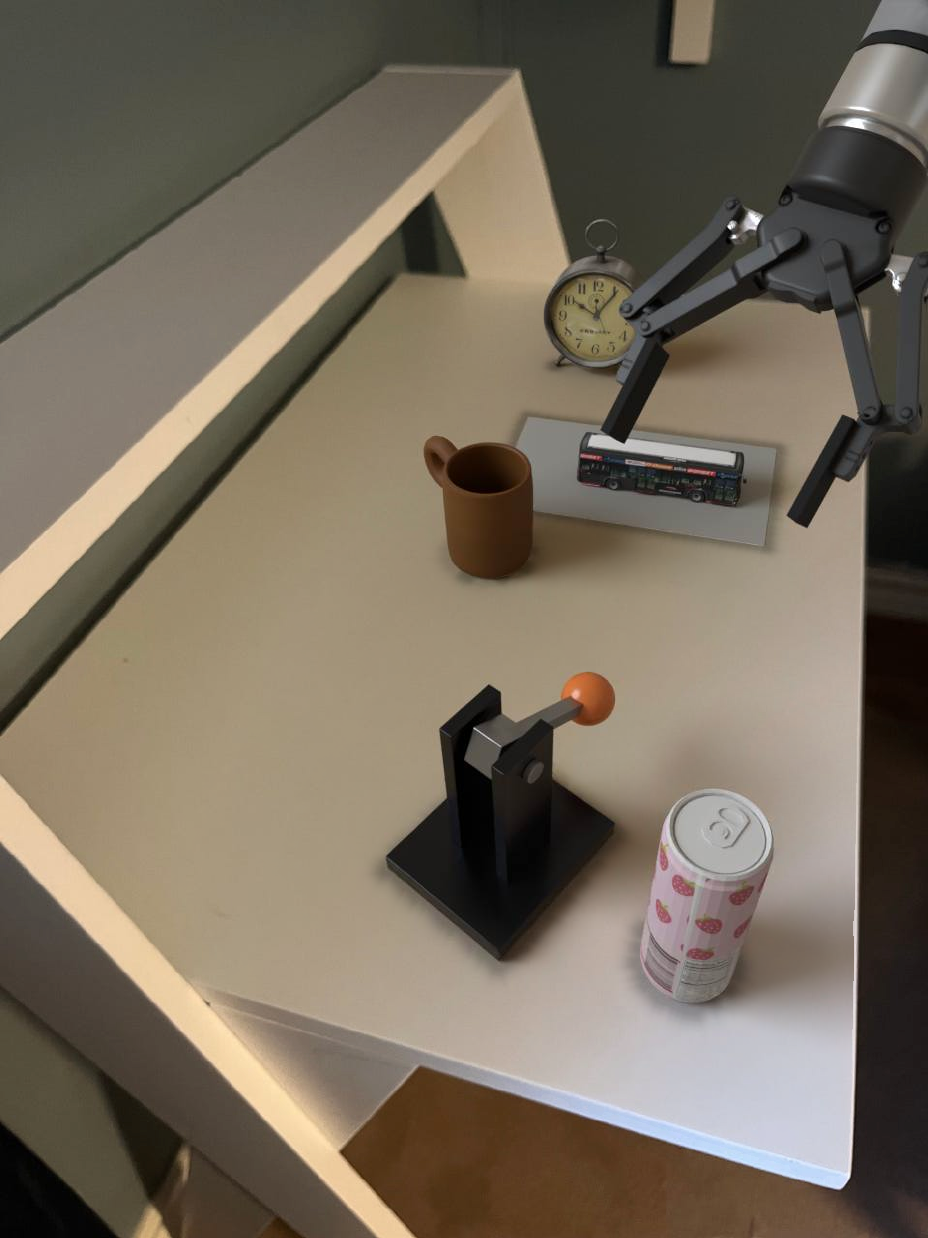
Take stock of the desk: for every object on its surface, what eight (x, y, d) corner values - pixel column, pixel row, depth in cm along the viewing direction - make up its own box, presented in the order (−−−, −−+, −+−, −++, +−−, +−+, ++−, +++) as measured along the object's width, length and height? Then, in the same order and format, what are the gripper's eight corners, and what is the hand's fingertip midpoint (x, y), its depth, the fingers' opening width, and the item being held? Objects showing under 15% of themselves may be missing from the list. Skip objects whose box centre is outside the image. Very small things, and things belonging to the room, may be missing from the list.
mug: (400, 528, 89) (390, 444, 82) (463, 491, 92) (458, 408, 85) (486, 595, 82) (482, 510, 76) (550, 553, 86) (552, 468, 79)
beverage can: (736, 927, 61) (780, 794, 50) (729, 1015, 57) (775, 893, 46) (645, 908, 62) (669, 774, 51) (633, 993, 58) (656, 869, 47)
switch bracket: (503, 756, 71) (498, 628, 61) (614, 834, 66) (629, 708, 56) (387, 867, 65) (361, 746, 55) (499, 962, 60) (492, 848, 50)
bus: (764, 546, 85) (773, 509, 82) (491, 504, 91) (489, 468, 88) (776, 449, 94) (784, 412, 91) (528, 416, 100) (528, 381, 97)
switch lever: (573, 699, 67) (588, 656, 66) (615, 726, 65) (632, 682, 64) (452, 761, 57) (466, 712, 56) (497, 795, 56) (514, 745, 54)
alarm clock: (542, 372, 106) (543, 226, 94) (553, 346, 109) (555, 203, 97) (641, 384, 103) (655, 235, 91) (650, 357, 107) (664, 211, 95)
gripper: (1090, 237, 54) (895, 571, 58) (709, 139, 67) (568, 420, 70) (1096, 174, 48) (877, 554, 52) (674, 78, 60) (521, 391, 64)
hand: (699, 478), depth 61 cm, fingers open, 13 cm apart
